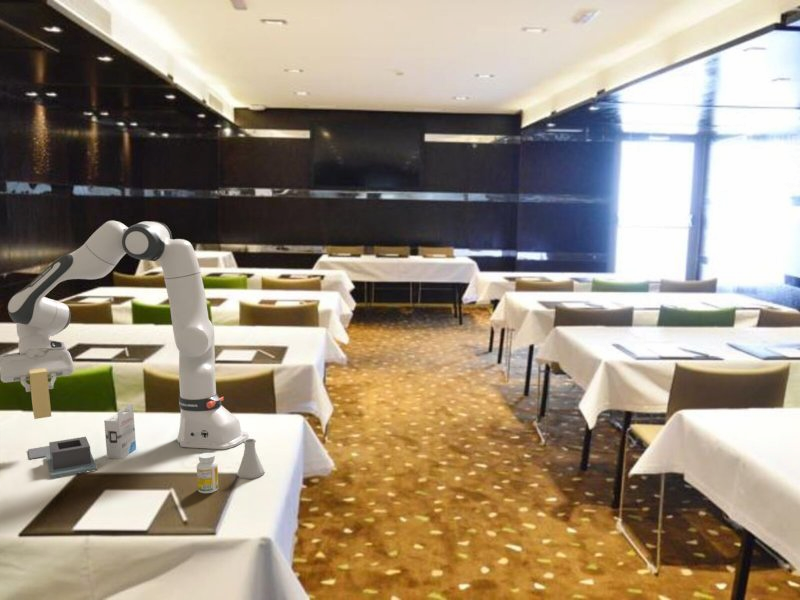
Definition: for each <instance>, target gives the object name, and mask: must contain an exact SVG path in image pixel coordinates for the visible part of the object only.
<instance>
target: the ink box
mask: <svg viewBox="0 0 800 600" xmlns="http://www.w3.org/2000/svg"><path fill="white" fill-rule="evenodd" d="M125 411H126V412H125ZM104 433H105V447H106V458H108V459H116V458H117V459H119V460H122V459H123V457H124V458H125V457H126V455H127V456H128V455H129V453H130V454H131V453H133V452H134V451H136V450H137V443H136V441H137V440H136V428H135V413H134V404H133V403H130V404H129V405H126V406H125V407H123V408H121V409H119V410H118V411H117V413H115V414H114V415H112V416H111V417H109V418H106V419H105V420H104ZM117 459H116V460H117Z"/></svg>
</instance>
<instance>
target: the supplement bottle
mask: <svg viewBox="0 0 800 600" xmlns="http://www.w3.org/2000/svg"><path fill="white" fill-rule="evenodd" d="M215 457H216V456H215V453H213V452H203V453H200V454H199V456H198V461H199V462H198V463H197V464H196V477H197V478H196V479H197V480H196V481H197V491H198V492H199V493H200V494H211V493H215V492H217V491H218V489H219V473H218V470H219V468H218V462H216V461H215Z"/></svg>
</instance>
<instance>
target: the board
mask: <svg viewBox="0 0 800 600" xmlns="http://www.w3.org/2000/svg"><path fill="white" fill-rule="evenodd" d="M45 459H46V463H47V466H48V467H47V469H48V471H49V477H50V479H56V478H57V479H58V478H62V477H66V476H73V475H74V476H75V475H77V474H76V473H79V472H85V473H88V472H87V471H91V472H94V471H93V470H96V471H98V466H97V464H96V461H95V459H94V457H93V454H92V453H91V463H89V464H84V465H78V466H72V467H66V468H61V469H55V470H53V466H52V462H51V458H50V454H49V455H46V457H45ZM79 474H80V473H79Z"/></svg>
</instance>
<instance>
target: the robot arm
mask: <svg viewBox="0 0 800 600" xmlns="http://www.w3.org/2000/svg"><path fill="white" fill-rule="evenodd" d="M172 235H173V234H172V231H171V230H170V228H169V227H168V225H166V224H165V223H163V222H161V221H157V220H150V221H141V222H138V223H135V224H133V225H130V226H129V227H128V226H127V225H125V224H124V223H122V222H121V221H116V220H108V221H106V222H104V223H103V224H102V225H101V226H99V227H98V228H97V229H96V230H95V231H94V232H93V233H92V234H91V236H89V238H88V239H87V240H86V241H85V242H84V244H83V245H81V246H80V247H79V248H78V249H76V250H73V251H72V252H70V253H68V254H63V255H61V256H60V257H58V258H57V259H55V260H54V261H53V262H52V263H50V264H49V266H48V267H46V268H45V269H44V270H43V271H42V272H41V273H40V274H38V276H36V277H35V278H34V279H33V280H32V281H31V282H30V283H28V285H26V286H25V287H23V288H22V289H21V290H19V291H17V292H16V293H14V294H13V296H12V297H10V299H9V301H8V303H7V311H8V312H7V313H8V314H9V317H10V319H11V320H12V321H13V323H15V324H16V333H17V337H18V343H17V344H18V351H19V352H13V353H4V354H2V355H0V381H1V382H2V383H14V382H20V384H21V385H22V387H24V388H25V392H26V393H28V392H29V393H31V384H30V383H28V382H27V381H30V374H29V370H35V369H43V368H46V370H47V377H48V379H49V378H50V381H48V387H49V390H53V389H54V384H55V381H57V377H67V376H72V375H73V374H74V372H75V371H74V370H75V367H74V361H73V358H72V355H71V353H70V352H69V350H67V345H66V343H65V341H57V340H52V339H50V337H54V336H55V335H57V334H59V333H61V332H62V331H64V330H65V329H67V327H68V326H70V323H71V318H72V316H71V315H72V314H71V309H70V308H69V305H67V303H63V302H61V301H59V300H55V299H52V298H48V297H46V295H47V294H49V292H50V291H52V290H53V289H54V288H55V287H56V286H57V285H58V284H59V283H61V282H65V281H67V280H78V279H79V280H97V279H102V278H104V277H106V276H107V275H108V274H110V273H111V272H112V271H113V269H114V268H115V267H116V266H117V265H118V264H119V262H120V260H121V259H123V257H124V256H125V255H126V254H127V255H128V256H129V257H131V258H134V259H136V260H142V261H149V262H150V261H151V262H157V261H158V262H159V264H160V266H161V269H162V272H163V273H162V274H163V279H164V284H165V289H166V293H167V298H168V303H169V309H170V317H171V324H172V331H173V335H174V336H173V337H174V343H175V347H176V348H177V350H178V351H179V352H178V354H179V355H178V380H179V382H178V383H179V396H178V405H179V406H178V407H179V410H180V420H179V429H178V433H177V434H178V435H177V442H178V443H179V446H180V447H181V448H195V449H213V450H227V449H230V448H234V447H236V446H239V445H240V444H242V443H244V442H243V441H244V440H246V439H249V433H248V432H245V431H242V429H241V424H240V421H239V418H238V417H237V416H235V415H234V414H232V413H231V412H230V411H229V410H228V409H226V408H225V407H224V405H222V401H224V400H225V399H224V398H225V397H224V396H222V397H220V396H219V394H218V393H217V385H216V354H215V352H216V350H215V348H216V347H215V328H214V325H213V323H212V321H211V320H210V318H209V311H208V306H207V305H208V304H207V295H206V292H205V288H204V287H205V286H204V282H203V277H202V272H201V268H200V263H199V260H198V257H197V254H196V252H195V249H194V246H193V244H191V242H190V241H189V240H186V239H184V238H182V239H181V238H175V239H173V236H172Z"/></svg>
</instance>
